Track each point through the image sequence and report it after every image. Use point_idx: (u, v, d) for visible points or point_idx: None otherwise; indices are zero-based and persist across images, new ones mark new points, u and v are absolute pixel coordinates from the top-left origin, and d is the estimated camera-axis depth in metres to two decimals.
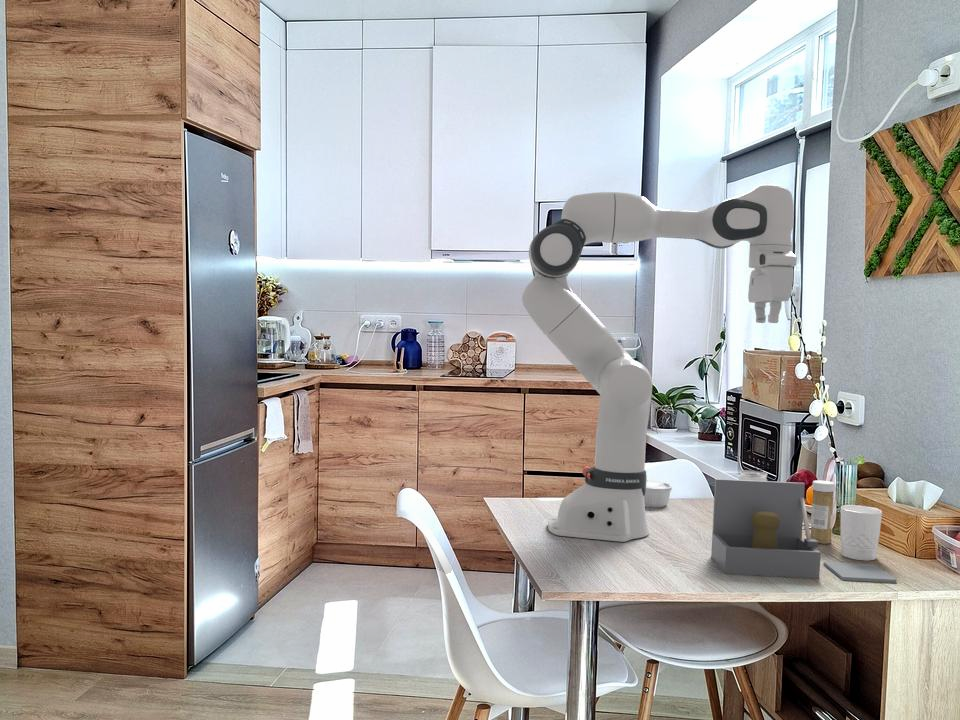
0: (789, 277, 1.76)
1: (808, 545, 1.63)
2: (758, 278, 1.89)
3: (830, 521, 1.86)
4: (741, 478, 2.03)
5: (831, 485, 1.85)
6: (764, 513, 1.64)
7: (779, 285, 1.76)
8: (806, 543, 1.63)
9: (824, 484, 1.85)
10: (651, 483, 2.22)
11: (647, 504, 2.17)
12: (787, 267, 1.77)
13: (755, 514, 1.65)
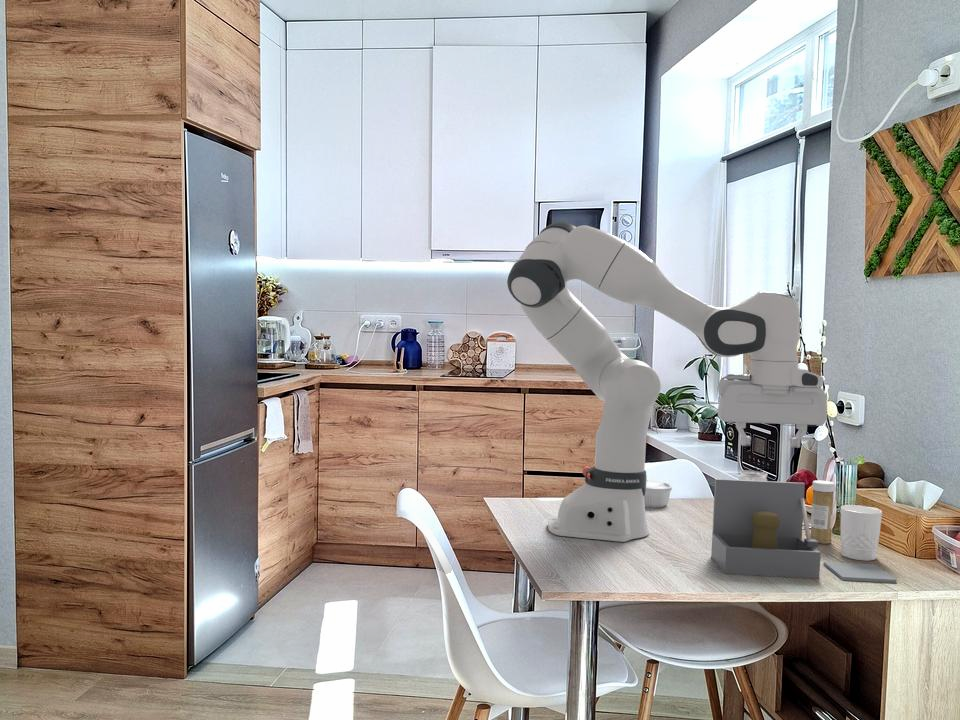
0: None
1: (808, 545, 1.63)
2: (760, 396, 1.63)
3: (830, 521, 1.86)
4: (741, 478, 2.03)
5: (831, 485, 1.85)
6: (764, 513, 1.64)
7: None
8: (806, 543, 1.63)
9: (824, 484, 1.85)
10: (651, 483, 2.22)
11: (647, 504, 2.17)
12: None
13: (755, 514, 1.65)
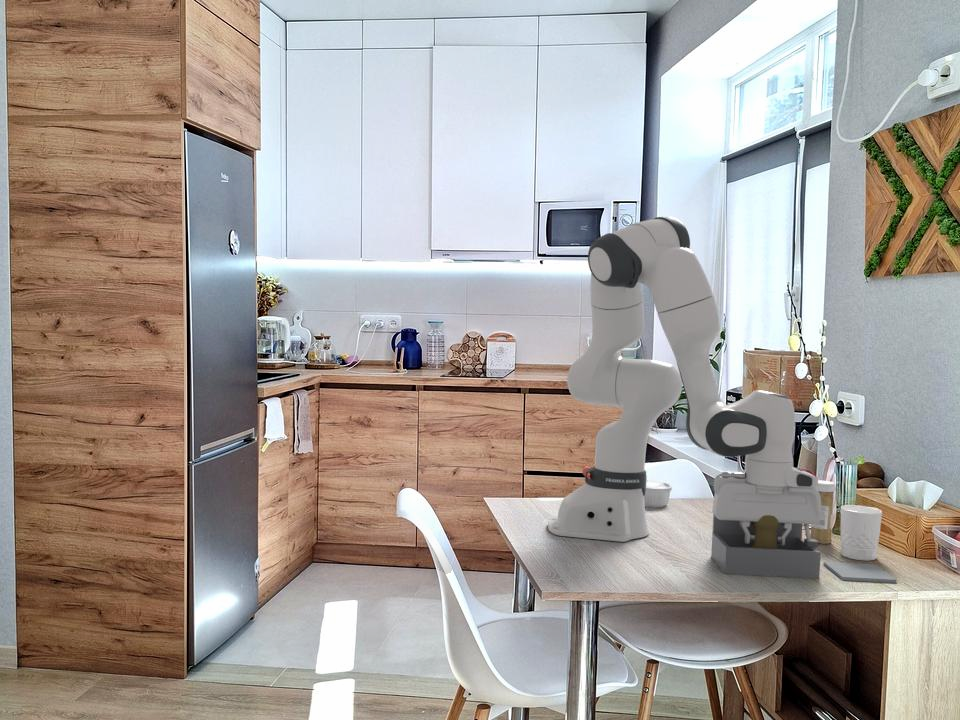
0: None
1: (808, 545, 1.63)
2: (755, 495, 1.64)
3: (830, 521, 1.86)
4: None
5: (831, 485, 1.85)
6: None
7: None
8: (806, 543, 1.63)
9: (824, 484, 1.85)
10: (651, 483, 2.22)
11: (647, 504, 2.17)
12: None
13: None
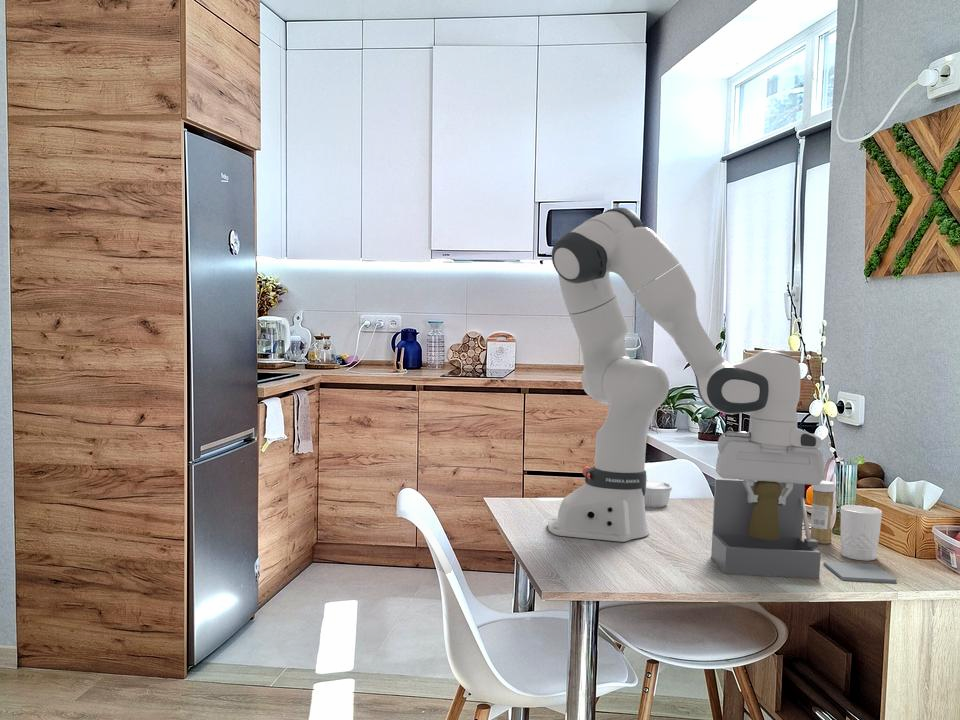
0: None
1: (808, 545, 1.63)
2: (758, 454, 1.64)
3: (830, 521, 1.86)
4: None
5: (831, 485, 1.85)
6: (766, 481, 1.65)
7: None
8: (806, 543, 1.63)
9: (824, 484, 1.85)
10: (651, 483, 2.22)
11: (647, 504, 2.17)
12: None
13: (758, 482, 1.66)
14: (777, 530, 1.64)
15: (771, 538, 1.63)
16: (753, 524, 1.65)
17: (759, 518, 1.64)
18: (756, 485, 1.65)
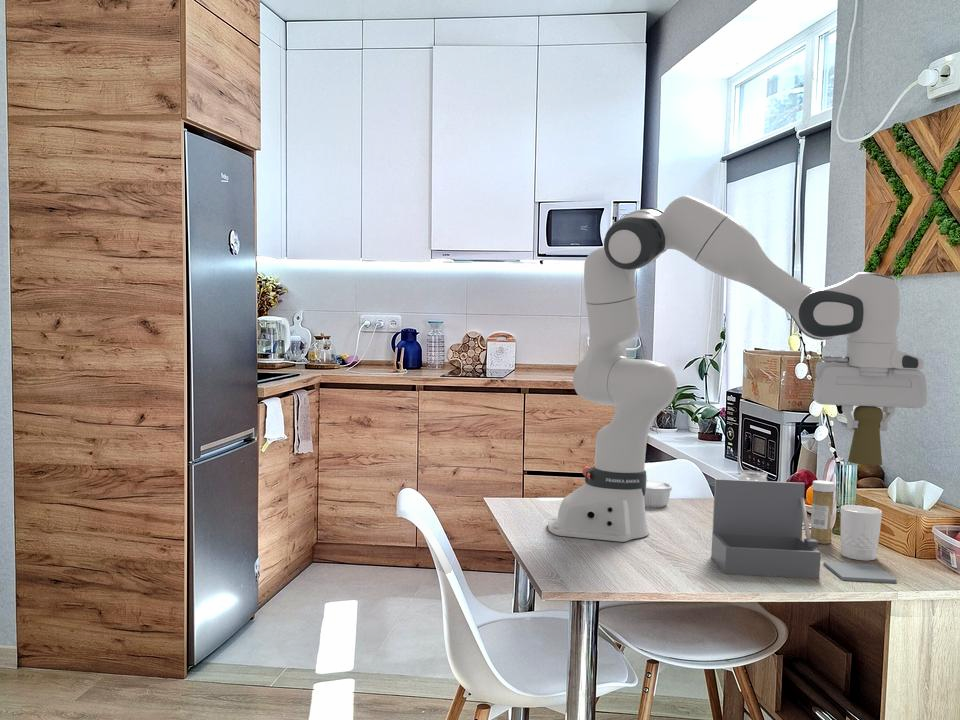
0: None
1: (808, 545, 1.63)
2: (858, 378, 1.61)
3: (830, 521, 1.86)
4: (741, 478, 2.03)
5: (831, 485, 1.85)
6: (867, 406, 1.61)
7: None
8: (806, 543, 1.63)
9: (824, 484, 1.85)
10: (651, 483, 2.22)
11: (647, 504, 2.17)
12: None
13: (858, 408, 1.62)
14: (880, 455, 1.61)
15: (874, 463, 1.60)
16: (854, 451, 1.62)
17: (860, 444, 1.61)
18: (856, 410, 1.62)
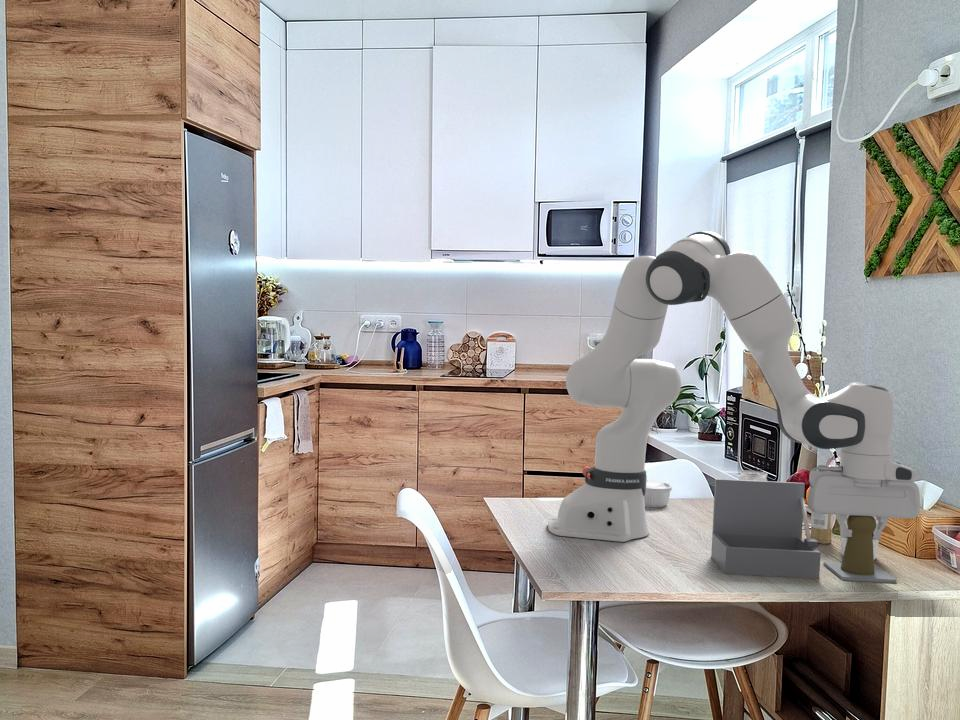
0: None
1: (808, 545, 1.63)
2: (852, 488, 1.62)
3: (830, 521, 1.86)
4: (741, 478, 2.03)
5: None
6: None
7: None
8: (806, 543, 1.63)
9: None
10: (651, 483, 2.22)
11: (647, 504, 2.17)
12: None
13: (851, 516, 1.63)
14: (872, 565, 1.62)
15: (866, 573, 1.61)
16: (847, 559, 1.63)
17: (853, 553, 1.62)
18: (850, 519, 1.63)
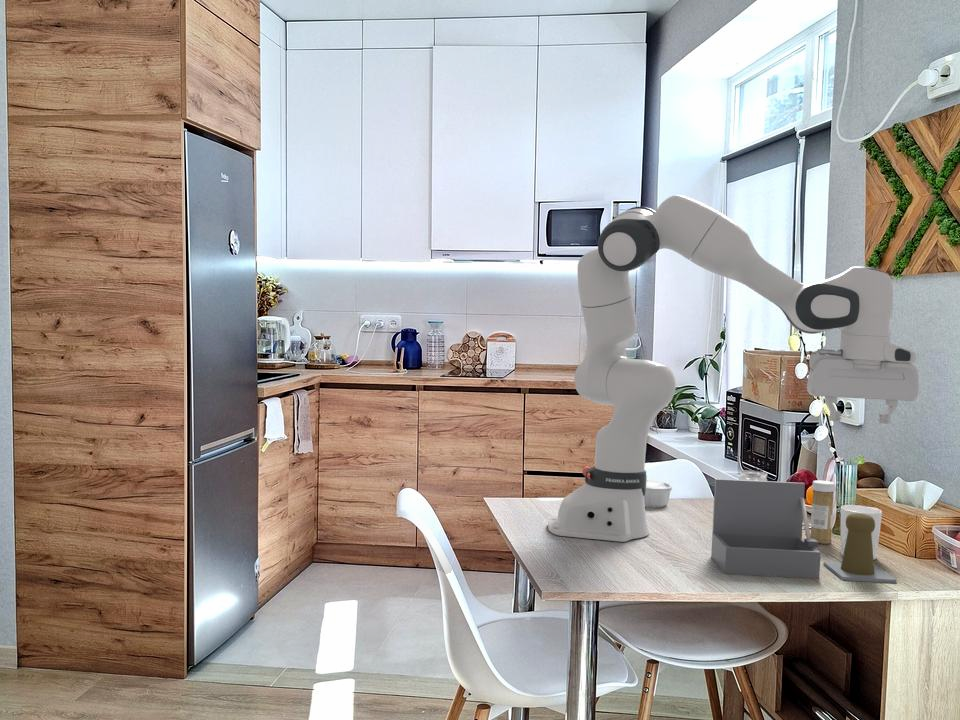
0: None
1: (808, 545, 1.63)
2: (851, 371, 1.63)
3: (830, 521, 1.86)
4: (741, 478, 2.03)
5: (831, 485, 1.85)
6: (859, 515, 1.62)
7: None
8: (806, 543, 1.63)
9: (824, 484, 1.85)
10: (651, 483, 2.22)
11: (647, 504, 2.17)
12: None
13: (850, 517, 1.63)
14: (872, 565, 1.62)
15: (866, 573, 1.61)
16: (847, 559, 1.63)
17: (852, 553, 1.62)
18: (848, 519, 1.63)
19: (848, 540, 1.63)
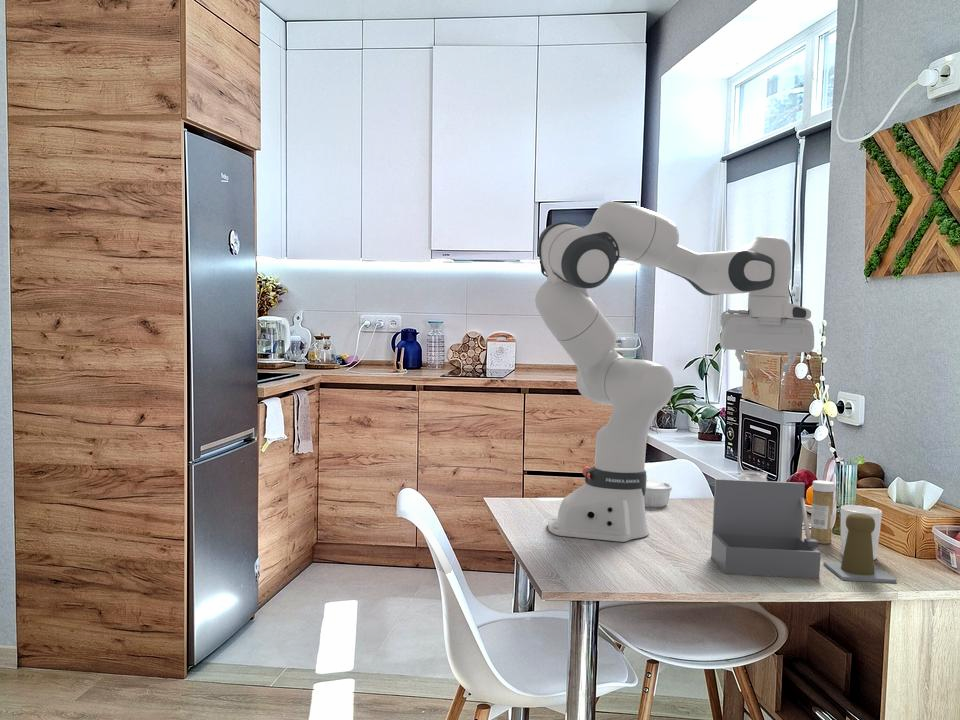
0: None
1: (808, 545, 1.63)
2: (756, 327, 1.89)
3: (830, 521, 1.86)
4: (741, 478, 2.03)
5: (831, 485, 1.85)
6: (859, 515, 1.62)
7: None
8: (806, 543, 1.63)
9: (824, 484, 1.85)
10: (651, 483, 2.22)
11: (647, 504, 2.17)
12: None
13: (850, 517, 1.63)
14: (872, 565, 1.62)
15: (866, 573, 1.61)
16: (847, 559, 1.63)
17: (853, 553, 1.62)
18: (848, 519, 1.63)
19: (848, 540, 1.63)
